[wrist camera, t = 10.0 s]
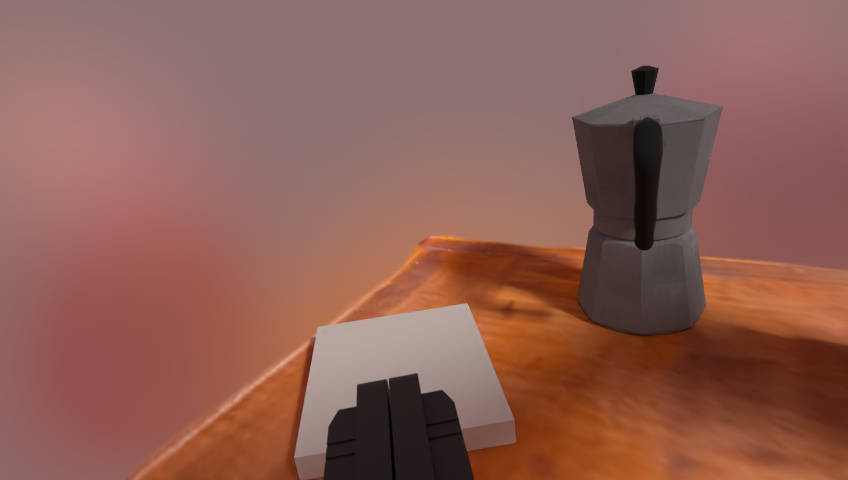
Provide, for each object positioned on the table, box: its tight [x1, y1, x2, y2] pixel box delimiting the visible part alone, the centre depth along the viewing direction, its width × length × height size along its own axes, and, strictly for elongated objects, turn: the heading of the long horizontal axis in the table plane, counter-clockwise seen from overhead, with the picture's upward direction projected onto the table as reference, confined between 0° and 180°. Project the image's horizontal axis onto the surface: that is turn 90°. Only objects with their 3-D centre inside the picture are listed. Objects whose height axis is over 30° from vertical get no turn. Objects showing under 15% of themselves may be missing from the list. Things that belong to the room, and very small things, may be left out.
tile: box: [294, 303, 516, 480], centre depth 34 cm, size 12×2×14 cm
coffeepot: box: [572, 66, 722, 335], centre depth 36 cm, size 15×9×18 cm, turn 160°
